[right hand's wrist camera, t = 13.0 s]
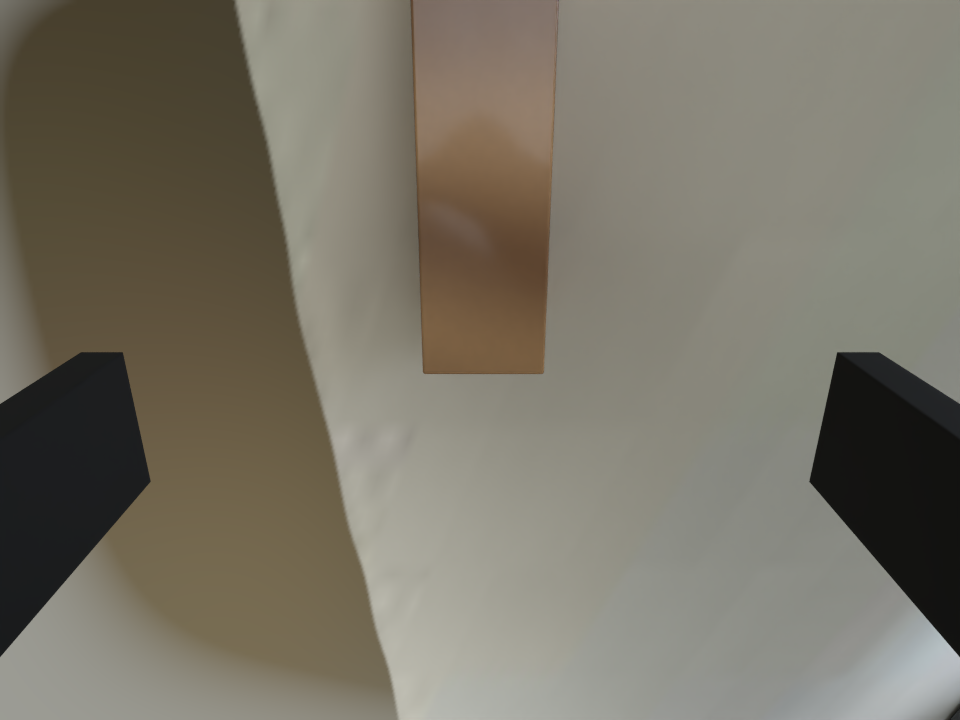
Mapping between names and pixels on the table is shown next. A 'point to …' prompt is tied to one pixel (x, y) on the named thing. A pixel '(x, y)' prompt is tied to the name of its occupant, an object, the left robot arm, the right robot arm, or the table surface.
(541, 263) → the bar
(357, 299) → the table surface
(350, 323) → the table surface
